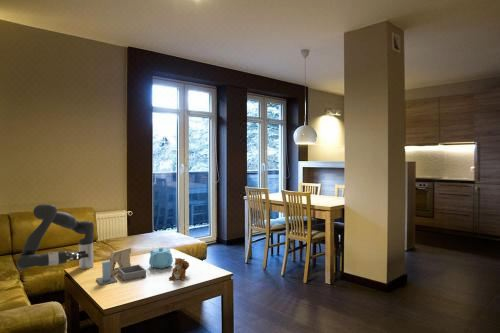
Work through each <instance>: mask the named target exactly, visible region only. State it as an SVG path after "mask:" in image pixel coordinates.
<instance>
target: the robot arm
mask: <svg viewBox="0 0 500 333" xmlns="http://www.w3.org/2000/svg"><path fill="white" fill-rule="evenodd" d="M33 215H34V217H35V218H36V219H38V220H42V221H41V223H40V224H39V225H38V226H37V227H36V228H35V229H34V230H33V231H32V232H31V233H30V234H29V235H28V237H27V238H26V240H25V243H24V245H23V248H22V251H21V254H20V256H19V257H18V258H17V260H16V268H17V269H18V270H20V271H25V270H28V269H29V268H33V267H39V268H40V267H46V266H57V265H64V264H66V263H67V262H68V260H69V262H72V261H73V262H74V261H79V262H78V263H79V269H82V270H85V269H91V268H94V236H95V235H94V234H95V226H94V223H93V221H90V220H87V221H85V220H76V217H75V216H74V215H72V214H70V213H68V212H64V211H58V208H57V206H56V205H54V204H45V203H43V204H38V205H36V206H35V207H34V208H33ZM51 224H55V225H57V226H59V227H61V228H64V229H67V230H71V231H72V232H75V233H77V234H79V235H84V237H83V238H80V239H79V240H78V250H74V251H66V250H60V251H59V250H58V251H52V252H48V253H41V254H36V253H37V251H38V249H39V246H40V244H41V241H42V239H43V237H44V236H45V233H46V232H47V231H48V229H49V228H50V226H51Z"/></svg>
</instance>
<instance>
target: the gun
mask: <svg viewBox="0 0 500 333" xmlns="http://www.w3.org/2000/svg"><path fill="white" fill-rule="evenodd" d="M131 253H132V247H125V248H122V249H118V250H114V251H111V252H110V255H109V257H108V260H109V261H110V271H111V276H112V275H113V276H114V275H115V274H116V273H118V268H123V267H128V266H132V264H131V255H130V254H131ZM116 264H117V265H118V267H116Z"/></svg>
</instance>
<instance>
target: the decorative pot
mask: <svg viewBox="0 0 500 333" xmlns="http://www.w3.org/2000/svg"><path fill="white" fill-rule="evenodd" d="M149 254H150V256H149V261H148V263H149V265H150V267H152V268H153V269H155V268H156V269H159V270H164V268H167V267H170V266H171V265H172V264H173V262H174V261H173V254H172V253H171V250H170V249H169V248H164V247H159V248H157V249H153V250H150V253H149Z"/></svg>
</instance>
